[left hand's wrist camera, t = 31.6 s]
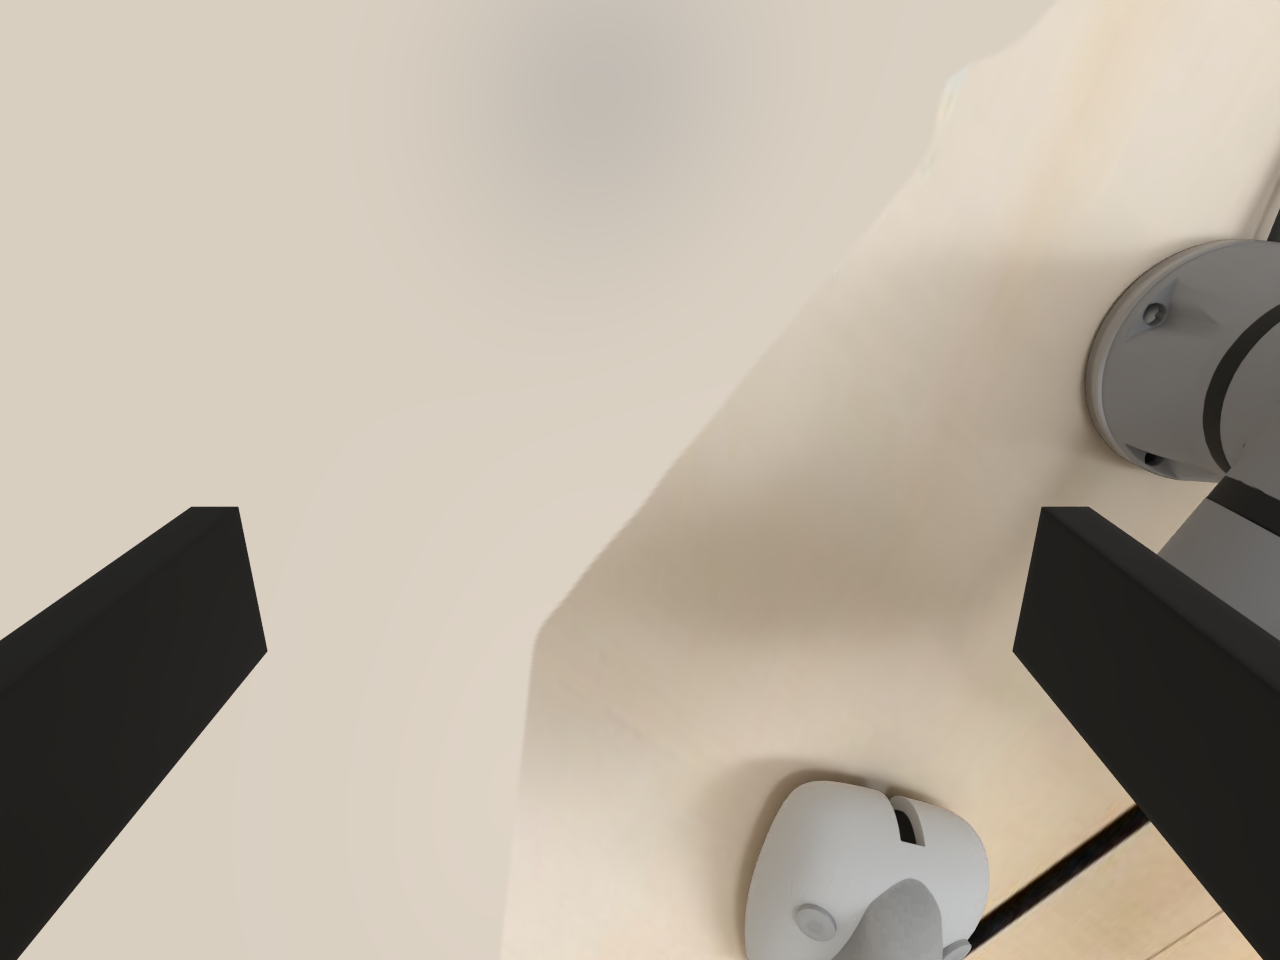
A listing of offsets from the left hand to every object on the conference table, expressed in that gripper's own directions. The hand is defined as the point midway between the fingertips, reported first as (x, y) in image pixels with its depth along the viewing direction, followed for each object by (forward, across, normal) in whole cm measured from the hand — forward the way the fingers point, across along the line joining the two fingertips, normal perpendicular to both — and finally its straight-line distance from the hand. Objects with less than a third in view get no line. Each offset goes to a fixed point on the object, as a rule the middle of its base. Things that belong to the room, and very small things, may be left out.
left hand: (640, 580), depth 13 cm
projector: (+38, +17, -48) cm, 64 cm away
